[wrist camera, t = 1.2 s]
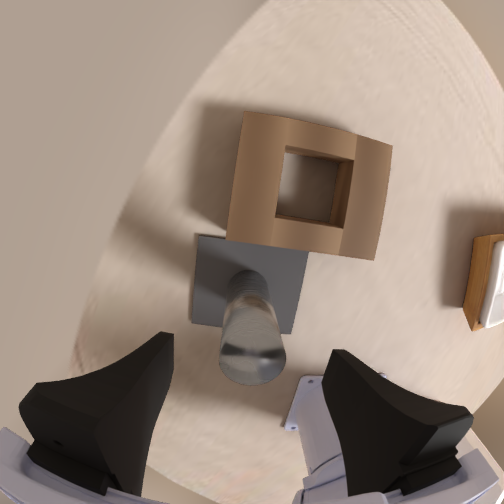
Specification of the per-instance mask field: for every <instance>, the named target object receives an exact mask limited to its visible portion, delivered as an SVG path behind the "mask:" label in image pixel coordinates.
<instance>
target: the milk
mask: <svg viewBox="0 0 504 504" xmlns="http://www.w3.org/2000/svg"><path fill="white" fill-rule="evenodd" d="M438 402H439V401H438ZM476 448H478V449H479V451H480V452H481V453H482V455H483V456H484V458H485V459H486V460H487V462H488V463H489V465H490V466H491V467H492V469H493V470H494V472H495V473H496V475H497V476H498V478H499V481H498V482H497V483H496V484H495V485H494V486H493V487H491V488H490V489H489V490H488V491H487V492H486V493H485V494H484V495H482V496H481V497H480V498H479V499H478V500H476V501H475V502H474V503H473V504H500V503H501V502H502V500H503V498H504V472H503V471H502V469H501V468H500V466H499V465H498V464H497V462H496V461H495V459H494V458H493V457H492V455H491V454H490V453H489V452H488V451H487V449H486V447H485V446H484V445H483V444H482V442H481V441H480V439H479V438H478V437H477V436H476V434H475V433H474V432H473V430H472V429H471V428H470V429H469V430H468V432H467V433H466V435H465V436H464V437H463V438H462V440H461V441H460V442H459V443H458V444H457V446H456V449H457V450H458V453H457V455H455V456H456V458H457V459H459V458H460V457H462V456H463V455H465V454H467V453H469V452H471V451H472V450H474V449H476Z"/></svg>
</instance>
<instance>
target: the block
mask: <svg viewBox="0 0 504 504" xmlns="http://www.w3.org/2000/svg"><path fill="white" fill-rule="evenodd" d="M392 147H393V146H392V145H389V144H386V143H383V142H380V141H377V140H374V139H370V138H367V137H364V136H361V135H357V134H354V133H350V132H347V131H343V130H339V129H335V128H331V127H327V126H323V125H319V124H315V123H310V122H306V121H301V120H296V119H291V118H286V117H280V116H274V115H268V114H262V113H255V112H248V111H244V116H243V122H242V128H241V135H240V141H239V147H238V154H237V160H236V167H235V174H234V181H233V188H232V195H231V202H230V209H229V216H228V224H227V232H226V239H225V240H229V241H237V242H244V243H252V244H259V245H266V246H274V247H281V248H288V249H296V250H303V251H310V252H317V253H324V254H331V255H338V256H345V257H352V258H359V259H366V260H373V261H374V258H375V253H376V249H377V244H378V240H379V235H380V230H381V225H382V219H383V214H384V208H385V202H386V196H387V189H388V182H389V174H390V166H391V157H392ZM285 152H286V153H292V154H297V155H302V156H307V157H312V158H317V159H321V160H326V161H330V162H335V163H339V164H338V171H337V178H336V185H335V191H334V198H333V204H332V210H331V215H330V221H329V223H328V222H322V221H316V220H310V219H304V218H298V217H292V216H285V215H279V214H275V213H276V206H277V200H278V193H279V187H280V180H281V173H282V167H283V160H284V153H285Z"/></svg>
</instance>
